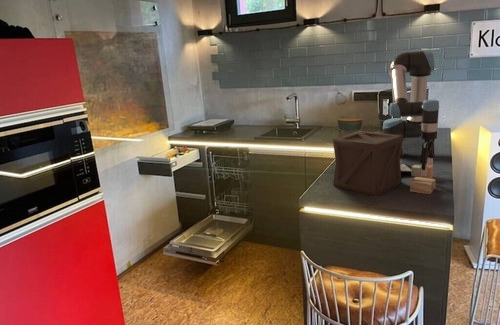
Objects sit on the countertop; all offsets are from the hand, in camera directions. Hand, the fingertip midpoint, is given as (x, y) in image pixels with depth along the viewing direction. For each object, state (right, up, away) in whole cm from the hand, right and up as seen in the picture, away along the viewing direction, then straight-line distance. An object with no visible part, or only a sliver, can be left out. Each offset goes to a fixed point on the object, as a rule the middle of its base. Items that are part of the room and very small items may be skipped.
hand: (426, 172), depth 199 cm
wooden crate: (-31, -6, -1) cm, 32 cm away
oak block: (-9, -8, -14) cm, 19 cm away
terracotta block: (0, -3, +1) cm, 3 cm away
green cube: (-2, -2, +7) cm, 8 cm away
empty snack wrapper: (-15, +1, +21) cm, 26 cm away
